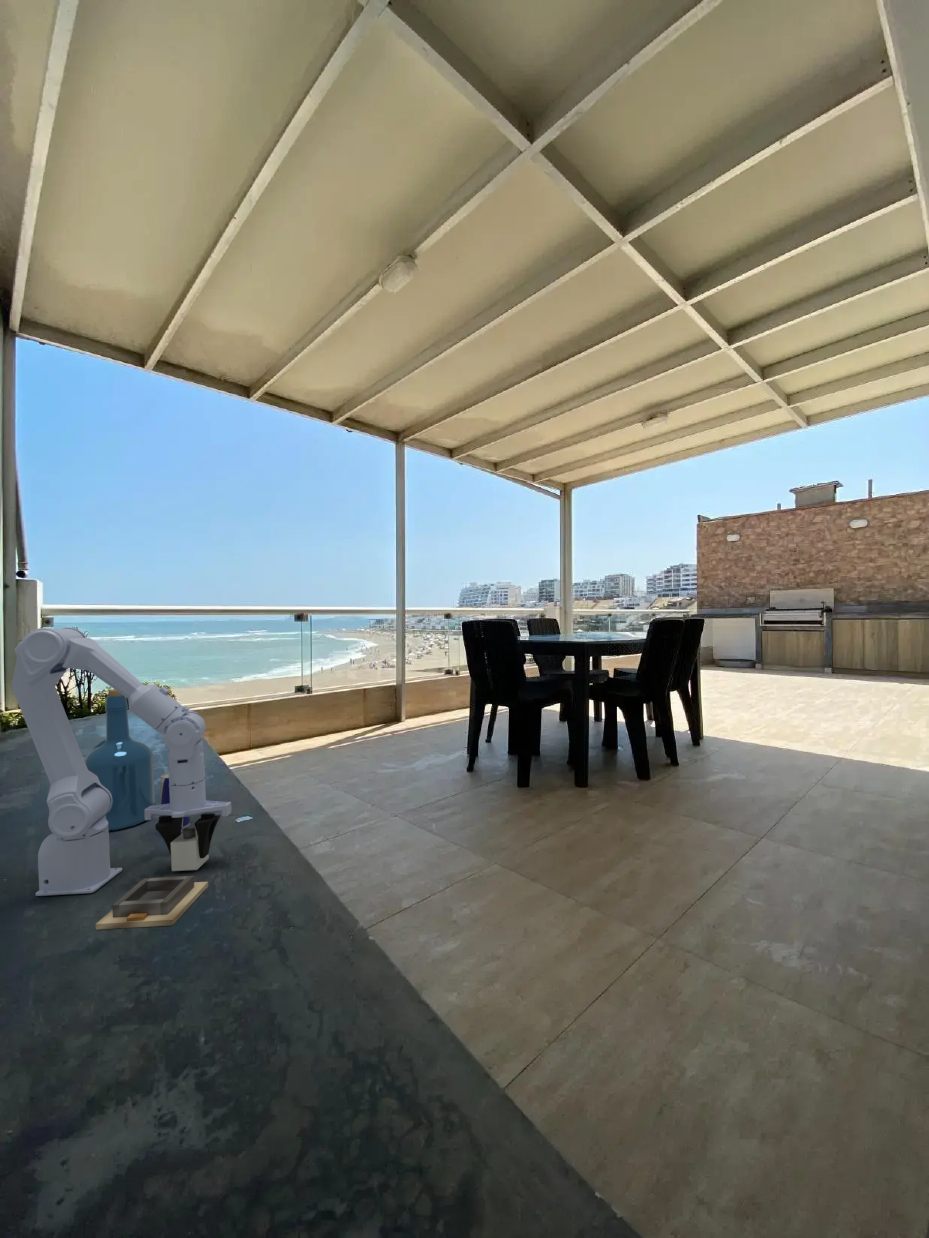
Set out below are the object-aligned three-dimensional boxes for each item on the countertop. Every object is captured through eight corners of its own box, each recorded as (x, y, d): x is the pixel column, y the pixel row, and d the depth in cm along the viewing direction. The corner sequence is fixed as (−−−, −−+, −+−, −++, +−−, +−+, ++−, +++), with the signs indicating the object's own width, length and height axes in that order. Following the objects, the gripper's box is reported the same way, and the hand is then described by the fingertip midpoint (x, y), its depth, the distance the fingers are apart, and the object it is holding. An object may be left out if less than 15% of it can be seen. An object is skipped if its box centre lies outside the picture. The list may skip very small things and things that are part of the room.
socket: (95, 929, 76) (95, 911, 76) (141, 890, 87) (140, 874, 87) (172, 925, 76) (172, 907, 76) (208, 886, 87) (207, 870, 87)
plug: (171, 871, 92) (170, 834, 92) (184, 859, 96) (183, 824, 96) (197, 869, 92) (195, 832, 92) (208, 858, 96) (207, 823, 96)
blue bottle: (167, 816, 120) (161, 686, 120) (102, 838, 109) (96, 694, 109) (137, 807, 128) (131, 684, 128) (73, 826, 117) (67, 692, 117)
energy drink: (178, 836, 109) (175, 778, 109) (155, 834, 110) (153, 777, 110) (196, 825, 114) (193, 770, 114) (174, 824, 115) (172, 770, 115)
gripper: (132, 790, 90) (136, 869, 90) (218, 786, 90) (221, 864, 90) (156, 777, 97) (159, 851, 97) (234, 774, 97) (237, 847, 97)
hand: (190, 856), depth 94 cm, fingers closed on plug, 4 cm apart
